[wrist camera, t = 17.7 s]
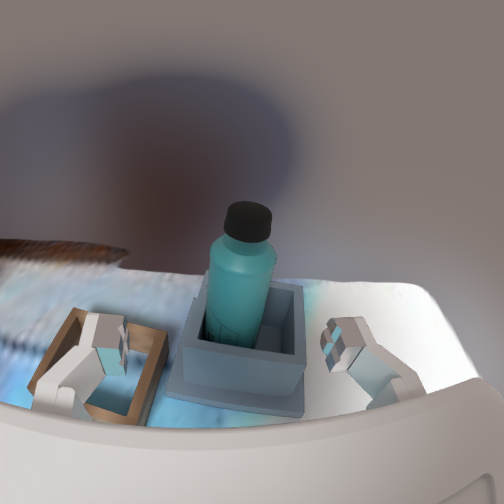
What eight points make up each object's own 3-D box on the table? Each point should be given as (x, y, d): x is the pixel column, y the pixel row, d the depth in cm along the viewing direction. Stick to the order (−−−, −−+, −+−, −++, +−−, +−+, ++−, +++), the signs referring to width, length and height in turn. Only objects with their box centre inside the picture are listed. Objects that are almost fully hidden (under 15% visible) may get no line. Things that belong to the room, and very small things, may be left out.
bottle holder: (165, 396, 33) (160, 355, 28) (193, 304, 46) (196, 259, 41) (300, 417, 33) (324, 382, 28) (299, 322, 46) (315, 279, 41)
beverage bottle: (264, 355, 38) (304, 216, 27) (224, 382, 34) (249, 237, 23) (230, 325, 42) (253, 187, 30) (190, 347, 37) (197, 201, 26)
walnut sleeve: (39, 404, 27) (26, 387, 24) (80, 327, 38) (73, 307, 36) (140, 442, 27) (134, 429, 25) (168, 351, 38) (167, 331, 36)
